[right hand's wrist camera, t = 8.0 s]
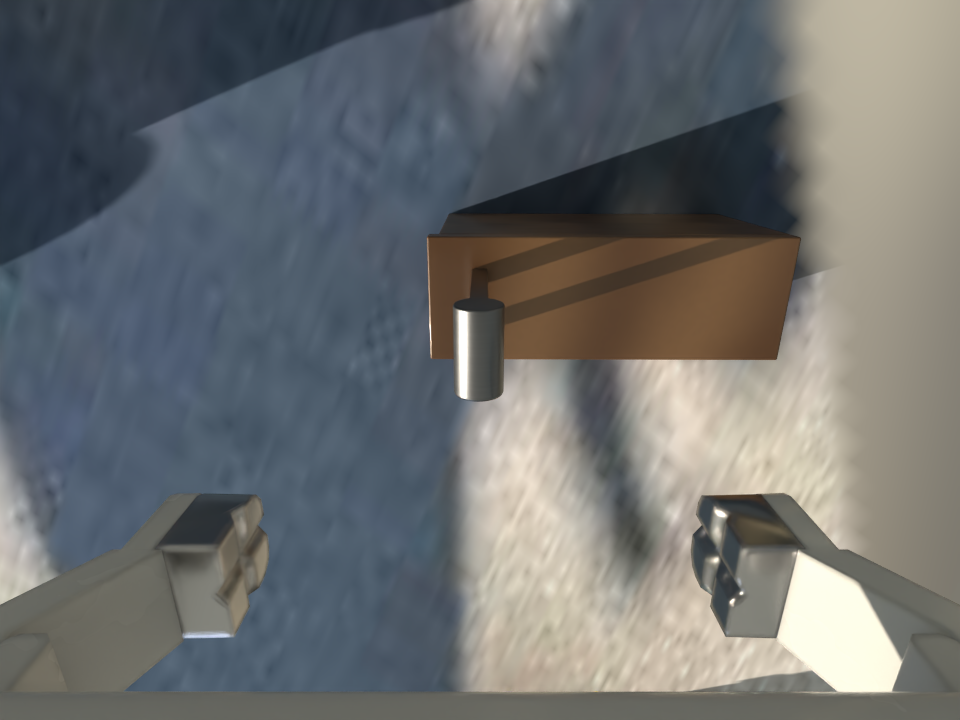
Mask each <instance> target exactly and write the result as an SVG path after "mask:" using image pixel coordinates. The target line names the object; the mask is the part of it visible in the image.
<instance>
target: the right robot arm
mask: <svg viewBox="0 0 960 720" xmlns="http://www.w3.org/2000/svg"><path fill="white" fill-rule="evenodd" d="M263 515H264V512H263V507H262V502H261V499H260V498H259V497H258V496H257V495H250V494H200V493H179V494H174V495H170V496H169V497H168V498H167V499H166V500H165V502H164V503H163V504H162V505H161V506H160V507H159V508H158V509H157V510H156V512H155V513H154V514H153V515H152V516H151V517H150V518H149V519H148V520H147V521H146V523H145V524H144V525H143V526H142V527H141V528H140V529H139V530H138V531H137V533H136V534H135V535H134V536H133V537H132V538H131V539H130V540H129V541H128V542H127V544H126V545H125V546H124V547H123V548H122V549H121V550H110V551H108V552H106V553H104V554H102V555H100V556H98V557H96V558H94V559H92V560H90V561H88V562H86V563H84V564H82V565H80V566H78V567H76V568H74V569H72V570H70V571H68V572H66V573H64V574H62V575H60V576H58V577H56V578H54V579H52V580H50V581H48V582H46V583H43V584H41V585H39V586H37V587H35V588H33V589H31V590H29V591H27V592H25V593H23V594H21V595H19V596H17V597H15V598H13V599H11V600H9V601H7V602H5V603H3V604H1V605H0V720H960V605H959V604H957V603H955V602H953V601H951V600H949V599H947V598H945V597H943V596H941V595H939V594H937V593H935V592H932V591H930V590H928V589H926V588H924V587H922V586H920V585H918V584H916V583H914V582H912V581H910V580H908V579H906V578H904V577H902V576H900V575H898V574H896V573H894V572H892V571H890V570H888V569H886V568H884V567H882V566H880V565H878V564H876V563H874V562H872V561H870V560H868V559H866V558H864V557H862V556H860V555H858V554H856V553H854V552H852V551H850V550H839V549H838V548H837V547H836V546H835V545H834V544H833V543H832V541H831V540H830V539H829V538H828V537H827V536H826V535H825V534H824V533H823V531H822V530H821V529H820V528H819V527H818V526H817V525H816V524H815V523H814V521H813V520H812V519H811V518H810V517H809V516H808V515H807V514H806V513H805V511H804V510H803V509H802V508H801V507H800V506H799V505H798V504H797V503H796V502H795V500H794V499H793V498H792V497H791V496H789V495H787V494H785V493H770V494H753V495H702V496H701V498H700V500H699V502H698V506H697V511H696V515H697V517H698V519H699V521H700V522H701V524H702V526H701V527H700V528H699V529H698V530H697V531H696V532H695V533H694V534H693V536H692V544H691V558H692V566H693V570H694V573H695V577H696V579H697V581H698V583H699V585H700V587H701V588H702V589H704V590H705V591H707V592H708V593H709V594H711V595H712V599H711V605H710V607H711V609H712V611H713V613H714V615H715V617H716V619H717V621H718V623H719V625H720V627H721V628H722V630H723V632H724V634H725V636H726V637H751V638H777V640H776V641H777V642H779V643H780V644H781V645H782V646H783V647H785V648H786V649H787V650H788V651H789V652H791V653H792V654H793V655H794V656H795V657H797V658H798V659H799V660H800V661H801V662H803V663H804V664H805V665H806V666H807V667H809V668H810V669H811V670H812V671H813V672H815V673H816V674H817V675H818V676H819V677H821V678H822V679H823V680H824V681H825V682H827V683H828V684H829V685H830V686H831V687H833V688H834V689H835V690H836V691H837V692H123V691H124V690H125V689H126V688H128V687H129V686H130V685H131V684H132V683H134V682H135V681H136V680H137V679H138V678H140V677H141V676H142V675H143V674H144V673H146V672H147V671H148V670H149V669H150V668H152V667H153V666H154V665H155V664H156V663H158V662H159V661H160V660H161V659H162V658H164V657H165V656H166V655H167V654H168V653H170V652H171V651H172V650H173V649H174V648H176V647H177V646H178V645H179V644H180V643H182V642H183V638H208V637H234V636H235V634H236V632H237V631H238V629H239V627H240V625H241V623H242V621H243V619H244V617H245V615H246V613H247V611H248V609H249V607H250V605H249V599H248V595H249V594H251V593H252V592H253V591H255V590H256V589H258V588H259V587H260V585H261V583H262V581H263V579H264V577H265V574H266V569H267V565H268V560H269V543H268V536H267V534H266V533H265V532H264V531H263V530H262V529H261V528H260V527H259V526H258V524H259V522H260V521H261V519H262V517H263Z"/></svg>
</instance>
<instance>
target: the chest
mask: <svg viewBox="0 0 960 720" xmlns="http://www.w3.org/2000/svg"><path fill="white" fill-rule="evenodd" d="M439 234H599V235H789V234H786V233H783V232H779V231H776V230H772V229H768V228H765V227H761V226H758V225H754V224H751V223H747V222H744V221H740V220H736V219H733V218H729V217H726V216H722V215H719V214H449V215H448V217H447V219H446V221H445V223H444V225H443V227H442V229H441V231H440V233H439Z"/></svg>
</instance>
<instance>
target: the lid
mask: <svg viewBox="0 0 960 720" xmlns="http://www.w3.org/2000/svg"><path fill="white" fill-rule="evenodd" d="M800 241H801V238H800V237H797V236H793V235H599V234H429V235H428V237H427V256H428V288H429V320H430V352H431V359H454V392H455V394H456V395H457V396H458V397H459V398H462V399H464V400H468V401H489V400H493V399H496V398H498V397H500V396H501V395H502V393H503V381H504V359H645V360H776V359H777V355H778V350H779V345H780V340H781V335H782V330H783V326H784V321H785V316H786V311H787V306H788V301H789V296H790V291H791V286H792V281H793V276H794V271H795V266H796V261H797V256H798V251H799V246H800Z"/></svg>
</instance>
